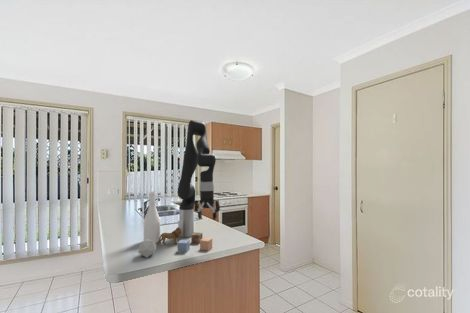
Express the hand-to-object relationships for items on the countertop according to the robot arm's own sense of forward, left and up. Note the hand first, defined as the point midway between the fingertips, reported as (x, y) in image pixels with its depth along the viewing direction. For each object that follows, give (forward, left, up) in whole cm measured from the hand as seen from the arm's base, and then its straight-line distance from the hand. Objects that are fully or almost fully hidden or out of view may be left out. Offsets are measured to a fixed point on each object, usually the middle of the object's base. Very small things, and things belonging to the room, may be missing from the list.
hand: (207, 219), depth 132 cm
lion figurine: (-24, 0, -16) cm, 29 cm away
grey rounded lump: (-24, -19, -16) cm, 35 cm away
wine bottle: (-36, 0, -16) cm, 40 cm away
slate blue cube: (-10, -7, -16) cm, 21 cm away
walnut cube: (-10, +8, -16) cm, 21 cm away
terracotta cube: (0, 0, -16) cm, 16 cm away
